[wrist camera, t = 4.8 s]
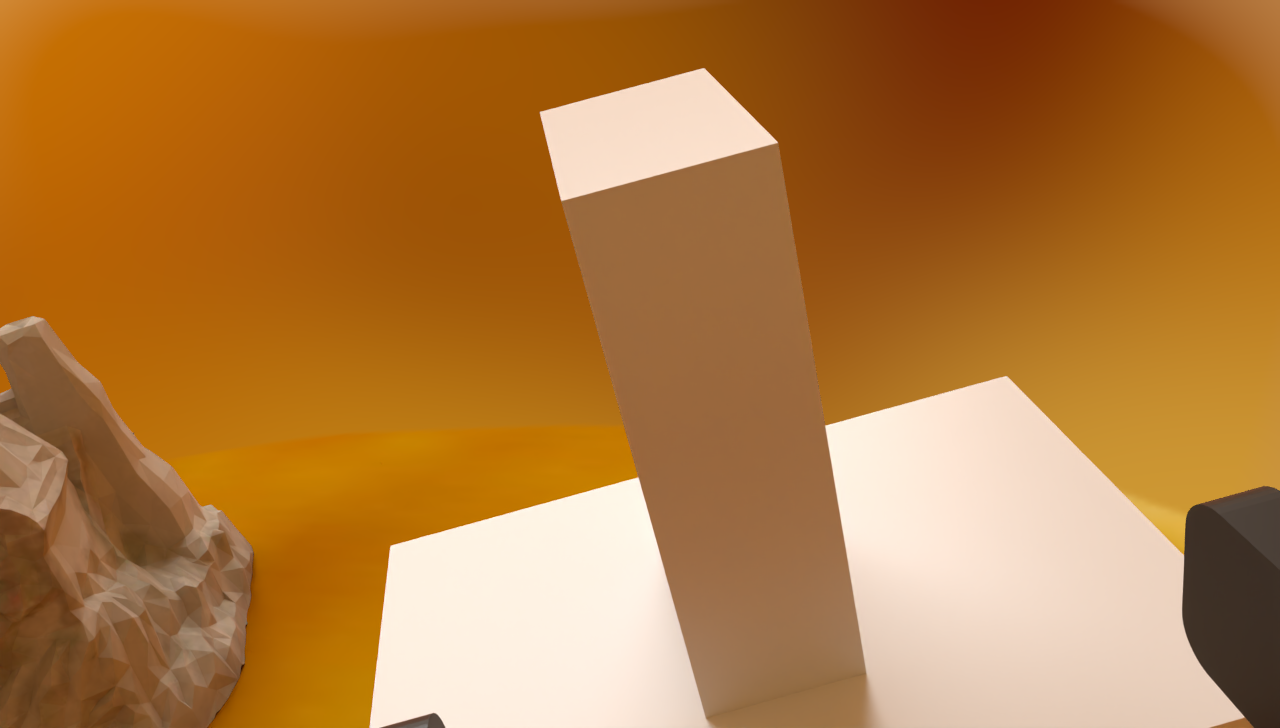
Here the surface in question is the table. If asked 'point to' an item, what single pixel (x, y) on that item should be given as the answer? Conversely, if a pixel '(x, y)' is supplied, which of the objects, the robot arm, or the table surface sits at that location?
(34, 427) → the beige rock formation
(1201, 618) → the robot arm
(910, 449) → the slab with upright post
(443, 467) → the table surface
